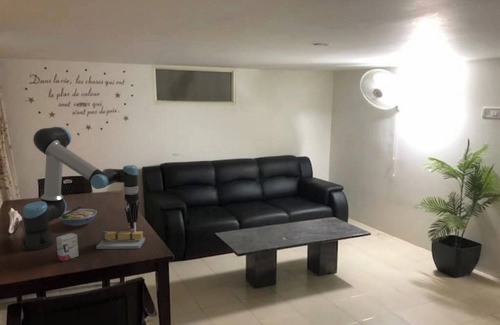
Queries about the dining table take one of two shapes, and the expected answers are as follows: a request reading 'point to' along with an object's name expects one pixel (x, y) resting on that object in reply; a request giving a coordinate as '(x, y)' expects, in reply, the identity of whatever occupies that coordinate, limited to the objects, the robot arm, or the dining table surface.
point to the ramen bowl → (78, 216)
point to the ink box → (67, 247)
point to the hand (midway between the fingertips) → (133, 233)
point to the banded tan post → (122, 235)
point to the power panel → (121, 244)
